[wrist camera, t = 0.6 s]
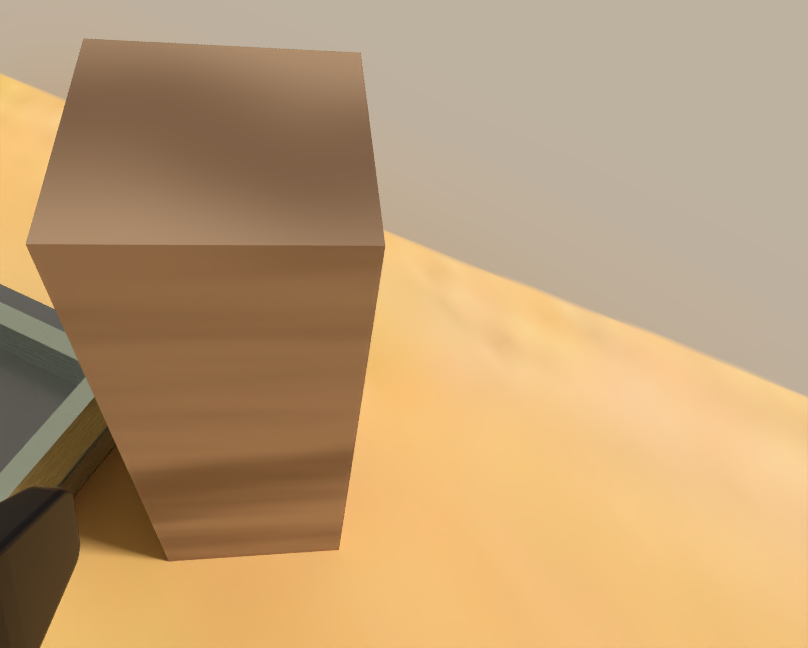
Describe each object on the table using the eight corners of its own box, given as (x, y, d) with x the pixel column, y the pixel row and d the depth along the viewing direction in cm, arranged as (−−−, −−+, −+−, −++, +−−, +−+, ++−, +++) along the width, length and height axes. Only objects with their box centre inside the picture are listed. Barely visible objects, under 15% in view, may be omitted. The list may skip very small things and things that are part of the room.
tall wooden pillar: (338, 549, 23) (384, 245, 11) (168, 561, 22) (25, 244, 11) (330, 406, 27) (360, 52, 15) (181, 411, 26) (83, 38, 14)
